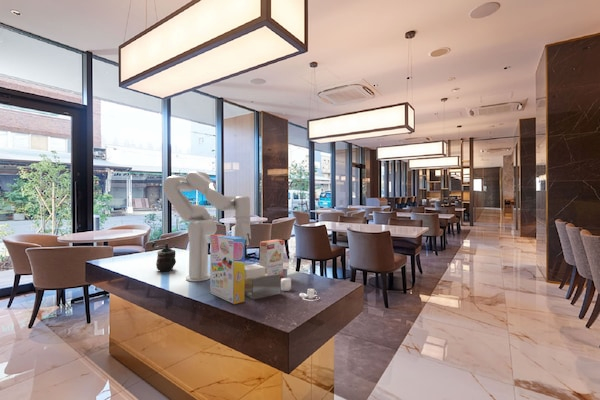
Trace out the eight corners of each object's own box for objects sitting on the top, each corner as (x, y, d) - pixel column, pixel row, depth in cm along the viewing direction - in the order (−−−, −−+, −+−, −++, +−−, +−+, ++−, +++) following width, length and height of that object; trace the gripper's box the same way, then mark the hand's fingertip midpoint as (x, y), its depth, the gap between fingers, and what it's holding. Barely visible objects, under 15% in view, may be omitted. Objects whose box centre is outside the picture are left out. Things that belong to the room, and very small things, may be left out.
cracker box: (267, 282, 156) (267, 242, 156) (258, 280, 160) (259, 241, 160) (283, 276, 168) (284, 239, 168) (275, 274, 171) (276, 238, 171)
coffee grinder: (145, 272, 173) (145, 242, 173) (165, 267, 187) (165, 238, 187) (162, 275, 168) (162, 243, 168) (181, 269, 182) (181, 240, 182)
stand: (233, 288, 145) (233, 269, 145) (258, 283, 153) (258, 266, 153) (253, 299, 129) (253, 278, 129) (280, 293, 137) (280, 274, 137)
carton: (237, 274, 145) (237, 266, 145) (255, 271, 152) (256, 263, 152) (246, 278, 138) (246, 270, 138) (264, 275, 144) (265, 267, 144)
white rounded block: (278, 289, 145) (278, 278, 145) (287, 287, 148) (287, 277, 148) (284, 291, 141) (284, 281, 141) (293, 289, 144) (293, 279, 144)
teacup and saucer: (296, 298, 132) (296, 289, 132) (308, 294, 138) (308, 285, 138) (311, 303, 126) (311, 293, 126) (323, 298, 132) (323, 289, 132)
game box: (245, 302, 126) (245, 237, 126) (233, 305, 122) (234, 239, 122) (220, 290, 140) (220, 233, 140) (209, 293, 137) (210, 234, 137)
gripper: (230, 219, 156) (230, 254, 156) (242, 221, 145) (243, 258, 144) (242, 219, 161) (243, 253, 161) (256, 220, 149) (256, 256, 149)
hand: (243, 255), depth 153 cm, fingers closed
